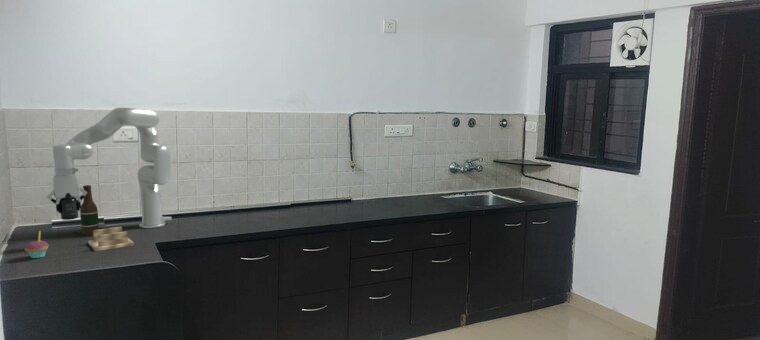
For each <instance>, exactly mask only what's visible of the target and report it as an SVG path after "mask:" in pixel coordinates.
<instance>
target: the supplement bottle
mask: <svg viewBox="0 0 760 340" xmlns="http://www.w3.org/2000/svg"><path fill="white" fill-rule="evenodd" d="M59 204H60V208H61V213H60V218H61V220H63V221H69V220H75V219H78V218H79V211H78V208H77V199H76V198H75V197H71V194H70V193H67V194H66V196H65V198H61V199H60V202H59Z"/></svg>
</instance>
